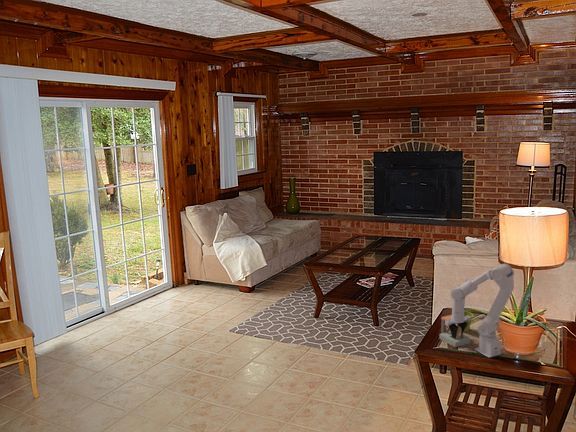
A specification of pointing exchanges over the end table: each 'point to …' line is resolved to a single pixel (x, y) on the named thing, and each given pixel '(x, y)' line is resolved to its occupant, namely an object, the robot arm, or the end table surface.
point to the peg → (458, 333)
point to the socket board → (449, 339)
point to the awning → (443, 326)
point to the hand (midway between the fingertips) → (457, 336)
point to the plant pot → (467, 321)
